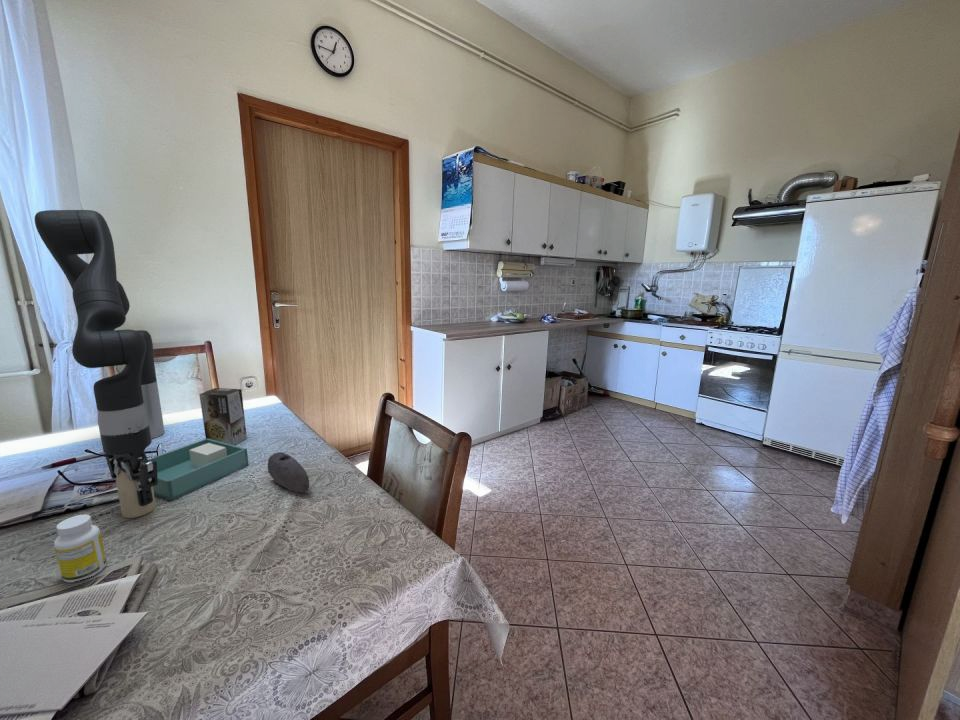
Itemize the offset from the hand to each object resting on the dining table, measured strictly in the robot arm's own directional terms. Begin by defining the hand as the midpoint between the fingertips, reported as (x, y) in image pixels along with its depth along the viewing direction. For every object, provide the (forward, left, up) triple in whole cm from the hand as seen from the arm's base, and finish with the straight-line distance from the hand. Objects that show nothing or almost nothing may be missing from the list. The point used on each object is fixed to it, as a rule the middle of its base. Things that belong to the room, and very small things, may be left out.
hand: (137, 500), depth 83 cm
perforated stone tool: (+21, +21, -3) cm, 30 cm away
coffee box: (-18, +32, -3) cm, 37 cm away
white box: (-6, +19, -3) cm, 20 cm away
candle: (0, 0, -3) cm, 3 cm away
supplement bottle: (+12, -14, -3) cm, 19 cm away
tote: (-6, +15, -3) cm, 16 cm away
